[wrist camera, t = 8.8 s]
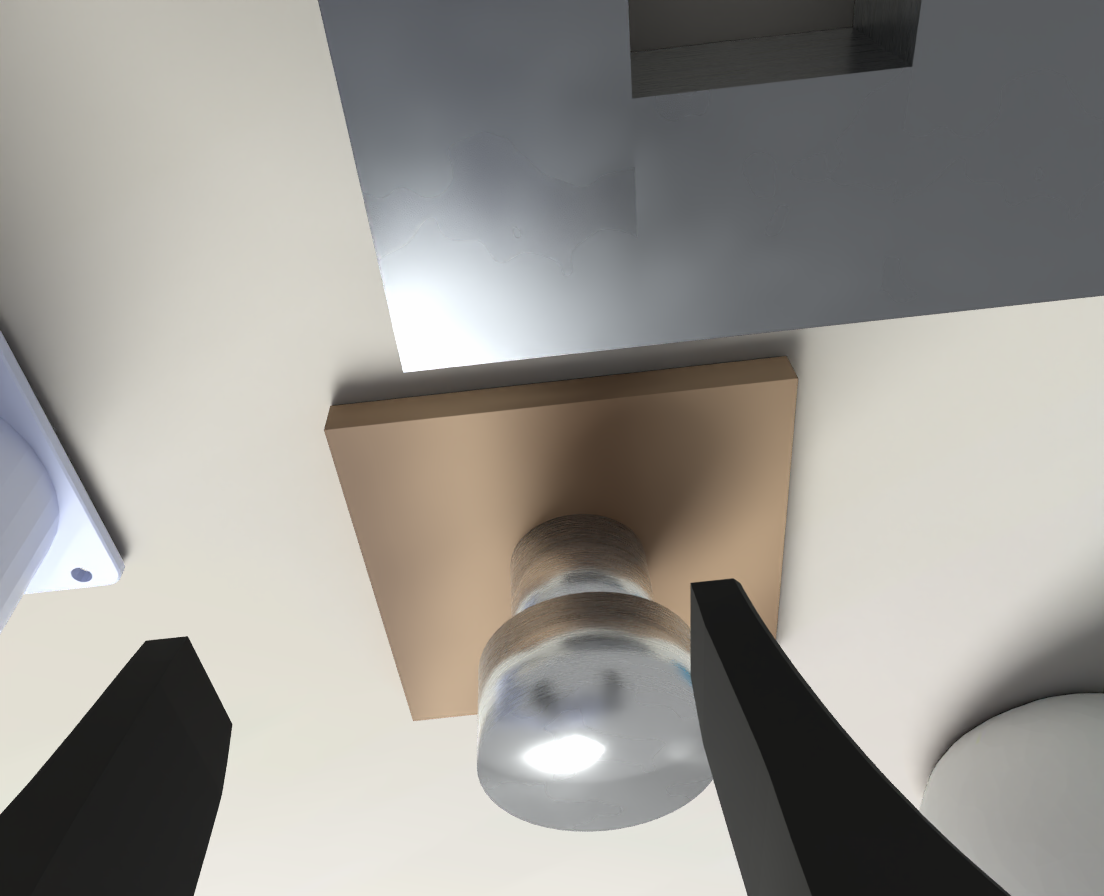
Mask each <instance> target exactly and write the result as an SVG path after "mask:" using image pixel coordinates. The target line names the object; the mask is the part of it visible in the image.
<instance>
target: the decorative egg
mask: <svg viewBox="0 0 1104 896" xmlns="http://www.w3.org/2000/svg"><path fill="white" fill-rule="evenodd" d="M919 812H920V813H921V814H922V815H923V816H924V817H925V818H926V819H928V820H929V821H930V822H931V823H932V824H933V825H934V826H935V827H936V828H937V829H938V830H939V831H940V832H941V833H942V834H943V835H944V836H945V837H946V838H947V839H948V840H949V841H950V842H951V843H952V844H953V845H955V846H956V847H957V848H958V849H959V850H960V851H961V852H962V853H963V854H964V855H965V856H967V857H968V858H969V859H970V860H971V861H972V862H973V863H975V864H976V865H977V866H978V867H979V868H980V869H981V870H983V871H984V872H985V873H986V874H987V875H988V876H989V877H991V878H992V879H993V880H994V881H995V882H996V883H997V884H999V885H1000V886H1001V887H1002V888H1003V889H1004V890H1005V891H1007V892H1008V893H1009V894H1010V895H1011V896H1104V693H1084V694H1070V695H1062V696H1054V697H1049V698H1045V699H1041V700H1037V701H1034V702H1031V703H1028V704H1026V705H1023V706H1020V707H1017V708H1014V709H1011V710H1009V711H1006V712H1004V713H1002V714H1000V715H997V716H995V717H993V718H991V719H989V720H987V721H985V722H984V723H982V724H980V725H979V726H977V727H975V728H974V729H972V730H971V731H969V732H968V733H966V734H965V735H963V736H962V737H961V738H960V739H959V740H958V741H956V742H955V743H954V744H953V745H952V746H951V747H950V748H949V750H948V751H947V752H946V753H945V754H944V756H943V757H942V758H941V759H940V760H939V762H938V763H937V764H936V766H935V768H934V770H933V772H932V773H931V776H930V778H929V781H928V784H927V786H926V789H925V792H924V795H923V799H922V802H921V806H920V809H919Z"/></svg>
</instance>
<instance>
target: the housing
mask: <svg viewBox="0 0 1104 896" xmlns="http://www.w3.org/2000/svg"><path fill="white" fill-rule="evenodd" d="M318 3H319V7H320V11H321V16H322V20H323V24H324V29H325V33H326V37H327V42H328V46H329V50H330V55H331V59H332V64H333V68H334V72H335V77H336V81H337V85H338V90H339V94H340V98H341V103H342V107H343V112H344V116H345V120H346V125H347V129H348V133H349V138H350V142H351V146H352V151H353V155H354V160H355V164H356V168H357V173H358V177H359V181H360V186H361V190H362V194H363V199H364V203H365V207H366V212H367V216H368V221H369V225H370V229H371V234H372V238H373V242H374V247H375V251H376V255H377V260H378V264H379V269H380V273H381V277H382V282H383V286H384V290H385V295H386V299H387V303H388V308H389V312H390V316H391V321H392V325H393V330H394V334H395V338H396V343H397V347H398V351H399V356H400V360H401V364H402V369H403V372H413V371H422V370H431V369H440V368H449V367H458V366H467V365H476V364H485V363H494V362H503V361H513V360H522V359H531V358H540V357H549V356H558V355H567V354H576V353H585V352H594V351H603V350H613V349H622V348H631V347H640V346H649V345H658V344H667V343H676V342H685V341H694V340H704V339H713V338H722V337H731V336H740V335H749V334H758V333H767V332H776V331H785V330H794V329H804V328H813V327H822V326H831V325H840V324H849V323H858V322H867V321H876V320H885V319H894V318H904V317H913V316H922V315H931V314H940V313H949V312H958V311H967V310H976V309H985V308H994V307H1004V306H1013V305H1022V304H1031V303H1040V302H1049V301H1058V300H1067V299H1076V298H1085V297H1095V296H1104V0H855V7H854V17H853V27H849V28H840V29H831V30H822V31H813V32H805V33H796V34H787V35H778V36H770V37H761V38H752V39H743V40H735V41H726V42H717V43H708V44H700V45H691V46H682V47H673V48H665V49H656V50H647V51H638V52H630V33H629V8H628V0H318Z"/></svg>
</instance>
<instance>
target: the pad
mask: <svg viewBox="0 0 1104 896" xmlns="http://www.w3.org/2000/svg"><path fill="white" fill-rule="evenodd" d="M797 385H798V377H797V375H796V373H795V372H794V370H793V368H792V366H791V364H790V362H789V360H788V358H787V356H783V357H773V358H764V359H755V360H746V361H737V362H728V363H719V364H710V365H700V366H691V367H682V368H673V369H664V370H655V371H646V372H637V373H627V374H618V375H609V376H600V377H591V378H582V379H573V380H564V381H554V382H545V383H536V384H527V385H518V386H509V387H500V388H491V389H481V390H472V391H463V392H454V393H445V394H436V395H427V396H418V397H408V398H399V399H390V400H381V401H372V402H363V403H354V404H345V405H335V406H330V409H329V413H328V417H327V421H326V425H325V429H324V432H325V435H326V438H327V441H328V445H329V448H330V451H331V454H332V458H333V461H334V464H335V467H336V471H337V474H338V477H339V481H340V484H341V487H342V490H343V494H344V497H345V500H346V503H347V507H348V510H349V513H350V516H351V520H352V523H353V526H354V529H355V533H356V536H357V539H358V543H359V546H360V549H361V552H362V556H363V559H364V562H365V565H366V569H367V572H368V575H369V578H370V582H371V585H372V588H373V591H374V595H375V598H376V601H377V605H378V608H379V611H380V614H381V618H382V621H383V624H384V627H385V631H386V634H387V637H388V640H389V644H390V647H391V650H392V653H393V657H394V660H395V663H396V667H397V670H398V673H399V676H400V680H401V683H402V686H403V689H404V693H405V696H406V699H407V702H408V706H409V709H410V712H411V715H412V719H413V721H418V720H427V719H437V718H446V717H456V716H465V715H475V714H478V669H479V661H480V658H481V655H482V652H483V649H484V648H485V646H486V644H487V642H488V640H489V639H490V638H491V637H492V635H493V634H494V633H495V632H496V631H497V630H498V629H499V628H500V627H501V626H502V625H503V624H504V623H505V622H506V621H508V620H509V619H510V618H512V614H511V574H510V563H511V557H512V554H513V551H514V549H515V547H516V546H517V544H518V543H519V541H520V540H521V539H522V538H523V537H524V536H525V535H526V534H527V533H528V532H529V531H531V530H532V529H533V528H535V527H536V526H538V525H540V524H542V523H544V522H546V521H548V520H551V519H554V518H557V517H561V516H565V515H572V514H594V515H599V516H604V517H607V518H611V519H613V520H616V521H618V522H620V523H622V524H623V525H625V526H626V527H628V528H629V529H630V530H632V531H633V532H634V533H635V535H636V536H637V537H638V538H639V540H640V541H641V543H642V546H643V548H644V552H645V556H646V561H647V566H648V571H649V576H650V581H651V586H652V591H653V596H654V601H655V602H656V603H658V604H660V605H662V606H664V607H666V608H668V609H670V610H671V611H672V612H674V613H675V614H677V615H678V616H679V617H680V618H681V619H682V620H683V621H684V622H685V623H686V624H687V625H688V626H689V627H690V583H693V582H703V581H712V580H721V579H731V578H734V579H735V580H737V581H738V582H739V583H741V585H742V587H743V589H744V590H745V592H746V594H747V596H748V597H749V599H750V601H751V602H752V604H753V606H754V607H755V609H756V611H757V612H758V614H759V615H760V617H761V619H762V620H763V622H764V623H765V625H766V626H767V628H768V629H769V631H770V632H771V634H772V635H773V637H774V638H775V640H776V632H777V620H778V608H779V596H780V585H781V573H782V561H783V549H784V538H785V526H786V514H787V502H788V491H789V479H790V467H791V455H792V444H793V432H794V420H795V408H796V396H797Z"/></svg>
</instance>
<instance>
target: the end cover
mask: <svg viewBox="0 0 1104 896" xmlns="http://www.w3.org/2000/svg"><path fill="white" fill-rule="evenodd" d="M510 574H511V614H512V618H510V619H509V620H508V621H506V622H505V623H504V624H503V625H502V626H501V627H500V628H499V629H498V630H497V631H496V632H495V633H494V634H493V635H492V637H491V638H490V639H489V640H488V642H487V644H486V646H485V648H484V649H483V652H482V655H481V658H480V661H479V669H478V731H477V771H478V777H479V780H480V784H481V785H482V787H483V789H484V791H485V793H486V794H487V795H488V796H489V797H490V799H491V800H492V801H493V802H494V803H496V804H497V805H498V806H499V807H500V808H502V809H503V810H505V811H506V812H508V813H509V814H511V815H513V816H515V817H517V818H519V819H521V820H524V821H527V822H529V823H532V824H535V825H539V826H543V827H547V828H553V829H558V830H567V831H606V830H614V829H621V828H626V827H631V826H635V825H639V824H643V823H646V822H649V821H652V820H655V819H658V818H660V817H663V816H665V815H667V814H669V813H671V812H674V811H675V810H677V809H679V808H681V807H682V806H684V805H686V804H687V803H689V802H690V801H691V800H693V799H694V798H695V797H697V796H698V795H699V794H700V793H701V792H702V791H703V790H704V789H705V788H706V787H707V786H708V785H709V784H710V782H711V781H712V780H713V777H712V773H711V770H710V766H709V763H708V760H707V756H706V753H705V749H704V746H703V741H702V736H701V731H700V725H699V720H698V715H697V709H696V704H695V698H694V693H693V687H692V682H691V664H690V627H689V626H688V625H687V624H686V623H685V622H684V621H683V620H682V619H681V618H680V617H679V616H678V615H677V614H675V613H674V612H672V611H671V610H670V609H668V608H666V607H664V606H662V605H660V604H658V603H656V602H655V601H654V596H653V591H652V586H651V581H650V576H649V571H648V566H647V561H646V556H645V552H644V548H643V546H642V543H641V541H640V540H639V538H638V537H637V536H636V535H635V533H634V532H633V531H632V530H630V529H629V528H628V527H626V526H625V525H623V524H622V523H620V522H618V521H616V520H613V519H611V518H607V517H604V516H599V515H594V514H572V515H565V516H561V517H557V518H554V519H551V520H548V521H546V522H544V523H542V524H540V525H538V526H536V527H535V528H533V529H532V530H531V531H529V532H528V533H527V534H526V535H525V536H524V537H523V538H522V539H521V540H520V541H519V543H518V544H517V546H516V547H515V549H514V551H513V554H512V557H511V563H510Z"/></svg>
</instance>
